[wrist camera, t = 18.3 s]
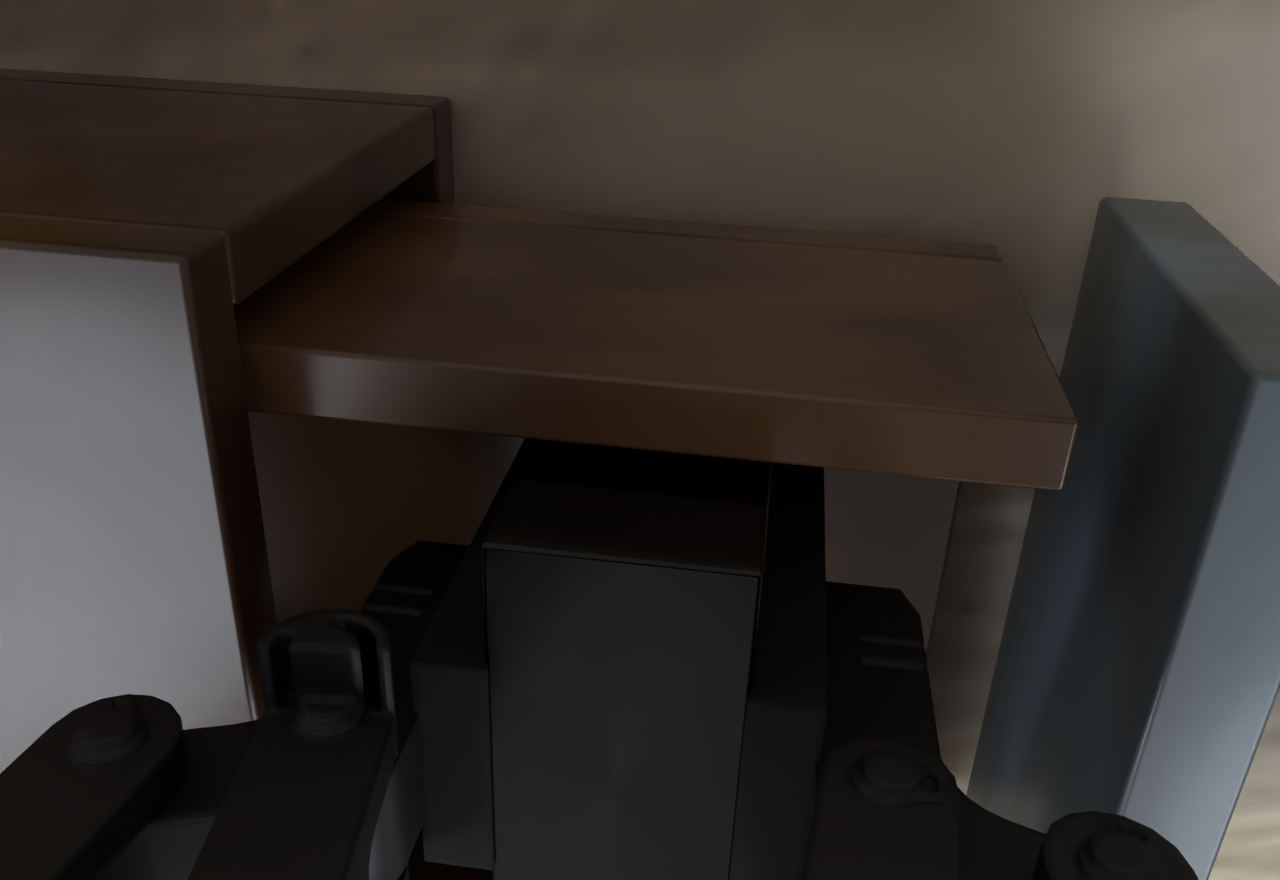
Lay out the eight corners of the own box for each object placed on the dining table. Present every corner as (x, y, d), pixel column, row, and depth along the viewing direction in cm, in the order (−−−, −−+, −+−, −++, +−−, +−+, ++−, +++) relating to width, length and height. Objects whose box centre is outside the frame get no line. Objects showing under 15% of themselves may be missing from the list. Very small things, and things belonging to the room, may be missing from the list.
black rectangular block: (533, 436, 12) (479, 542, 10) (771, 459, 12) (763, 572, 10) (538, 1033, 17) (502, 1185, 15) (712, 1060, 16) (697, 1219, 14)
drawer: (1543, 226, 15) (1970, 434, 9) (1256, 923, 21) (1412, 1301, 15) (195, 132, 17) (-109, 257, 11) (289, 790, 23) (121, 1079, 18)
